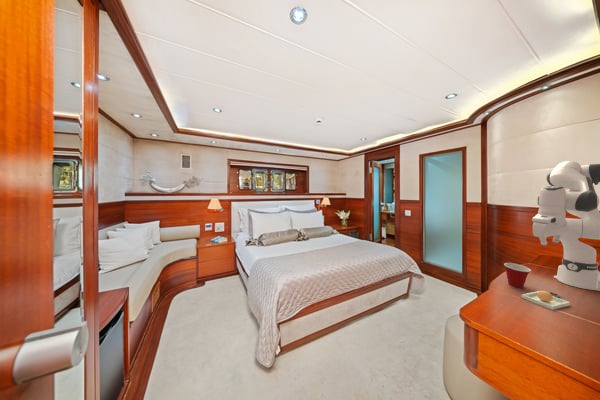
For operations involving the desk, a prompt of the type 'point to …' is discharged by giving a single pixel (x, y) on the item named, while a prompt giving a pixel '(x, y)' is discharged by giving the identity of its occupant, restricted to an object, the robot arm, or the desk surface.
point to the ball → (545, 296)
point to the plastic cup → (516, 274)
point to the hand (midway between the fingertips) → (549, 243)
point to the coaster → (556, 295)
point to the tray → (552, 305)
